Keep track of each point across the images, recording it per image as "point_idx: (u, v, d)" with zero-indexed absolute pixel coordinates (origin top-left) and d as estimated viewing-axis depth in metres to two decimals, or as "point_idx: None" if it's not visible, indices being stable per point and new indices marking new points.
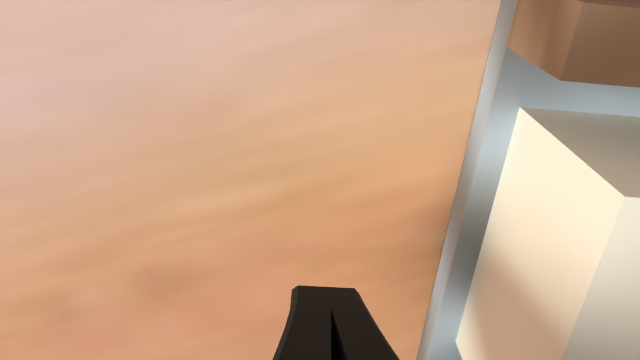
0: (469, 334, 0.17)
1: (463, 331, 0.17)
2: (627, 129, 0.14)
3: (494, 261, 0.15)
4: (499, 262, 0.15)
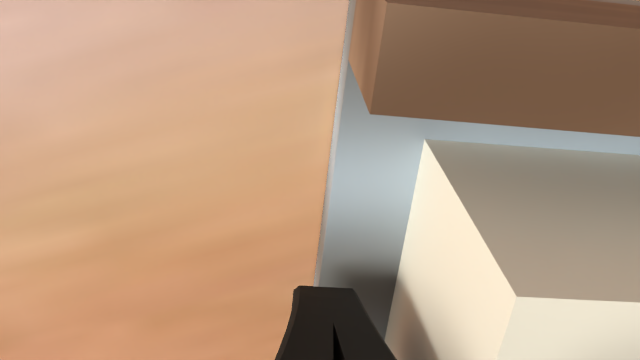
0: None
1: None
2: (558, 171, 0.10)
3: (399, 332, 0.12)
4: (403, 335, 0.12)
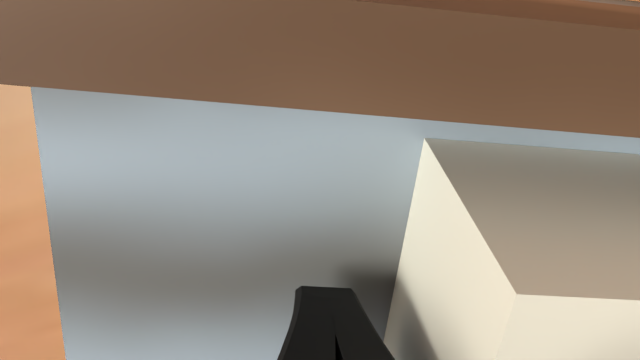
0: None
1: None
2: (558, 170, 0.10)
3: (399, 331, 0.12)
4: (402, 334, 0.12)
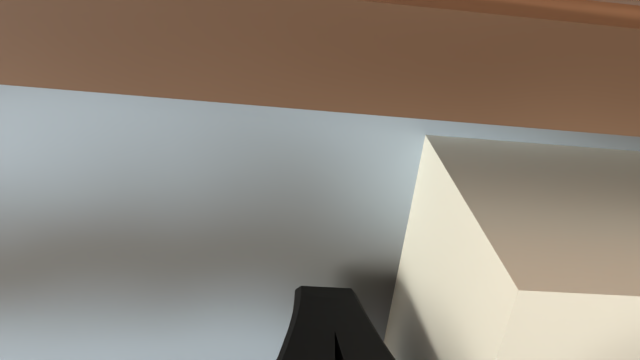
0: None
1: None
2: (559, 167, 0.10)
3: (400, 328, 0.12)
4: (403, 332, 0.12)
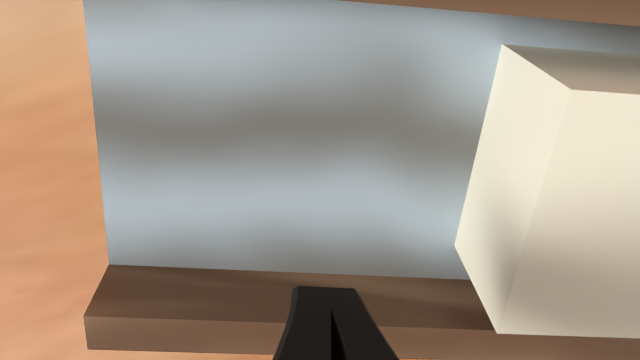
0: (464, 234, 0.21)
1: (460, 234, 0.21)
2: (585, 57, 0.17)
3: (483, 169, 0.19)
4: (487, 169, 0.19)
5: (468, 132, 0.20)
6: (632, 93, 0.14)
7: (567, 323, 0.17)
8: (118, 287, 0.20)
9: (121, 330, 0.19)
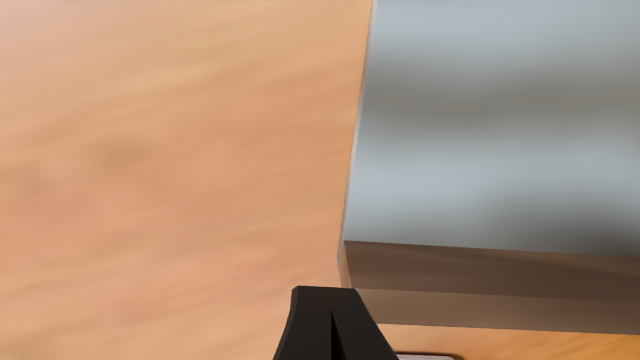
0: None
1: None
2: None
3: None
4: None
5: None
6: None
7: None
8: (366, 261, 0.20)
9: (384, 303, 0.19)
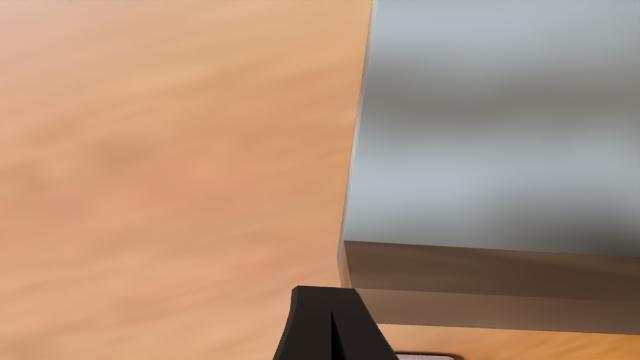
0: None
1: None
2: None
3: None
4: None
5: None
6: None
7: None
8: (366, 261, 0.20)
9: (384, 303, 0.19)
